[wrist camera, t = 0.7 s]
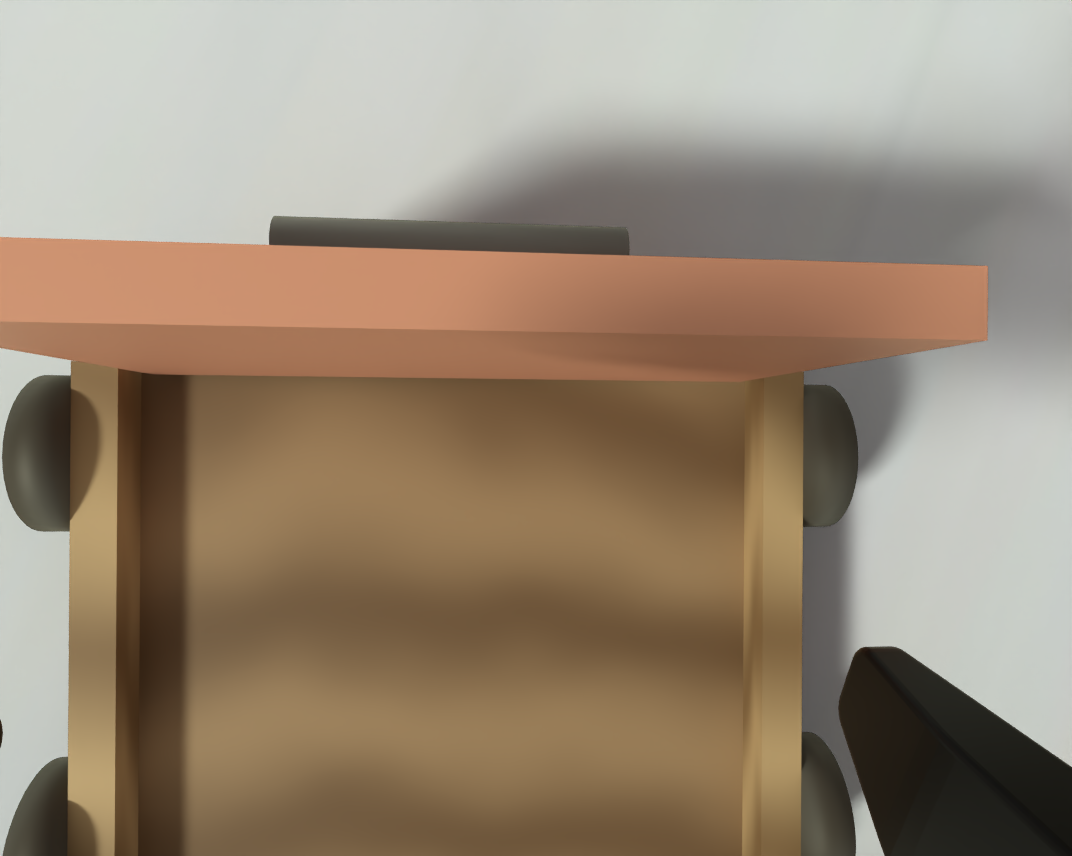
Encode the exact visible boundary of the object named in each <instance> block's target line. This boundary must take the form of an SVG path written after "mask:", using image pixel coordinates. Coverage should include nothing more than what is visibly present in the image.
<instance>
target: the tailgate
mask: <svg viewBox="0 0 1072 856" xmlns="http://www.w3.org/2000/svg"><path fill="white" fill-rule="evenodd" d="M987 322H988V266H972V265H938V264H904V263H869V262H835V261H800V260H766V259H732V258H697V257H663V256H629V236H628V231H627V229H626V228H625V227H594V226H563V225H533V224H502V223H472V222H441V221H410V220H380V219H349V218H319V217H288V216H274V217H273V218H272V220H271V224H270V232H269V245H250V244H216V243H181V242H147V241H112V240H78V239H44V238H9V237H0V348H4V349H10V350H16V351H21V352H27V353H33V354H39V355H44V356H50V357H56V358H62V359H67V360H73V361H79V362H84V363H90V364H96V365H102V366H107V367H113V368H119V369H124V370H130V371H136V372H142V373H147V374H155V375H233V376H311V377H389V378H467V379H544V380H622V381H700V382H742V381H748V380H754V379H760V378H766V377H772V376H778V375H784V374H790V373H796V372H802V371H808V370H814V369H820V368H826V367H831V366H837V365H843V364H849V363H855V362H861V361H867V360H873V359H879V358H885V357H891V356H897V355H903V354H909V353H915V352H921V351H926V350H932V349H938V348H944V347H950V346H956V345H962V344H968V343H974V342H980V341H986V340H987Z"/></svg>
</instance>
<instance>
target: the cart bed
mask: <svg viewBox="0 0 1072 856" xmlns="http://www.w3.org/2000/svg"><path fill="white" fill-rule="evenodd" d="M2 462H3V474H4V481H5V486H6V490H7V493H8V497H9V499H10V502H11V504H12V507H13V508H14V510H15V512H16V514H17V515H18V517H19V518H20V519H21V520H22V521H23V522H24V523H25V524H26V525H27V526H28V527H30V528H32V529H34V530H37V531H70V571H69V706H68V757H60V758H56V759H54V760H52V761H51V762H49V763H48V764H47V765H45V766H44V767H43V768H42V769H41V770H40V771H39V773H38V774H37V775H36V776H35V778H34V779H33V780H32V782H31V783H30V785H29V786H28V788H27V790H26V791H25V793H24V795H23V797H22V799H21V801H20V803H19V805H18V808H17V810H16V812H15V815H14V817H13V820H12V823H11V826H10V829H9V832H8V835H7V839H6V843H5V847H4V851H3V856H855V854H856V836H855V825H854V818H853V812H852V807H851V802H850V798H849V794H848V790H847V787H846V784H845V781H844V778H843V775H842V773H841V770H840V768H839V766H838V763H837V761H836V759H835V758H834V756H833V754H832V752H831V751H830V749H829V748H828V746H827V745H826V744H825V742H824V741H823V740H822V739H821V738H820V737H818V736H817V735H816V734H813V733H810V732H802V565H803V527H826V526H831V525H833V524H835V523H836V522H838V521H839V520H840V519H841V518H842V516H843V515H844V513H845V512H846V510H847V508H848V506H849V504H850V502H851V499H852V496H853V493H854V489H855V484H856V479H857V470H858V445H857V436H856V430H855V426H854V422H853V418H852V415H851V412H850V410H849V408H848V405H847V403H846V402H845V400H844V398H843V397H842V396H841V394H840V393H839V392H838V391H837V390H836V389H834V388H832V387H831V386H827V385H804V372H796V373H790V374H784V375H778V376H772V377H766V378H760V379H754V380H748V381H742V382H700V381H622V380H544V379H467V378H389V377H311V376H233V375H155V374H147V373H142V372H136V371H130V370H124V369H119V368H113V367H107V366H102V365H96V364H90V363H84V362H79V361H71V376H61V375H44V376H39V377H37V378H35V379H33V380H32V381H30V382H29V383H28V384H27V385H26V386H25V387H24V388H23V389H22V390H21V392H20V393H19V394H18V396H17V398H16V400H15V401H14V403H13V406H12V408H11V410H10V413H9V416H8V420H7V423H6V428H5V432H4V439H3V452H2Z"/></svg>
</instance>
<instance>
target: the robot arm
mask: <svg viewBox="0 0 1072 856" xmlns="http://www.w3.org/2000/svg"><path fill="white" fill-rule="evenodd" d="M839 717H840V722H841V726H842V729H843V732H844V735H845V738H846V741H847V744H848V747H849V750H850V753H851V756H852V759H853V762H854V765H855V768H856V771H857V775H858V778H859V781H860V784H861V787H862V790H863V793H864V796H865V799H866V802H867V805H868V808H869V811H870V814H871V817H872V820H873V823H874V826H875V829H876V832H877V835H878V838H879V841H880V844H881V847H882V850H883V852H884V855H885V856H1072V767H1071V766H1069V765H1068V764H1067V763H1065V762H1064V761H1062V760H1061V759H1059V758H1058V757H1056V756H1055V755H1054V754H1052V753H1051V752H1049V751H1048V750H1046V749H1045V748H1043V747H1042V746H1041V745H1039V744H1038V743H1036V742H1035V741H1033V740H1032V739H1030V738H1029V737H1028V736H1026V735H1025V734H1023V733H1022V732H1020V731H1019V730H1017V729H1016V728H1015V727H1013V726H1012V725H1010V724H1009V723H1007V722H1006V721H1004V720H1003V719H1001V718H1000V717H999V716H997V715H996V714H994V713H993V712H991V711H990V710H988V709H987V708H986V707H984V706H983V705H981V704H980V703H978V702H977V701H975V700H974V699H973V698H971V697H970V696H968V695H967V694H965V693H964V692H962V691H961V690H960V689H958V688H957V687H955V686H954V685H952V684H951V683H949V682H948V681H947V680H945V679H944V678H942V677H941V676H939V675H938V674H936V673H935V672H934V671H932V670H931V669H929V668H928V667H926V666H925V665H923V664H922V663H921V662H919V661H918V660H916V659H915V658H913V657H912V656H910V655H909V654H907V653H906V652H904V651H903V650H901V649H899V648H897V647H891V646H887V647H863V648H860V649H859V650H858V651H857V652H856V653H855V655H854V657H853V660H852V663H851V666H850V669H849V672H848V675H847V678H846V681H845V684H844V687H843V690H842V693H841V696H840V700H839ZM2 735H3V731H2V724H1V720H0V747H1V743H2Z"/></svg>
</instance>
